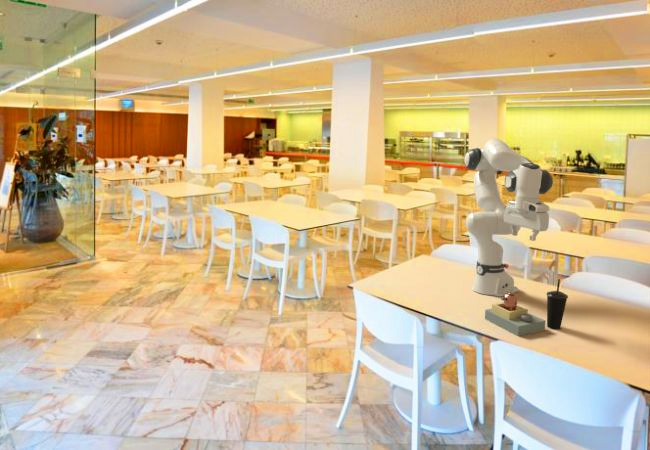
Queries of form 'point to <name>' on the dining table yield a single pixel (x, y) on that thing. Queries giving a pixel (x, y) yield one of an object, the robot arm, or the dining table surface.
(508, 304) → the spout can
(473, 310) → the dining table surface
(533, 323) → the grey block with tray
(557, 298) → the drinking cup
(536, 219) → the robot arm
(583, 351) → the dining table surface
